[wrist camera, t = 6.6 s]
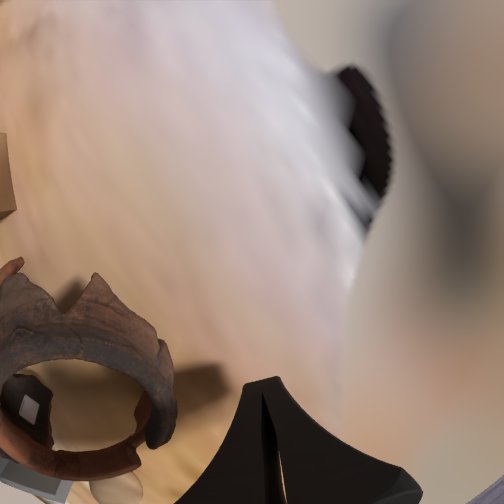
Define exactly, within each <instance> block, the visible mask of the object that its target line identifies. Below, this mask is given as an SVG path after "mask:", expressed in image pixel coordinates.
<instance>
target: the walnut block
mask: <svg viewBox="0 0 504 504" xmlns="http://www.w3.org/2000/svg"><path fill="white" fill-rule="evenodd" d="M16 209H17V206H16V201H15V196H14V191H13V185H12V179H11V173H10V165H9V157H8V148H7V136H6V133H0V219H1V218H3V217H4V216H6V215H8V214H9V213H11V212H13V211H15V210H16Z"/></svg>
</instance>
